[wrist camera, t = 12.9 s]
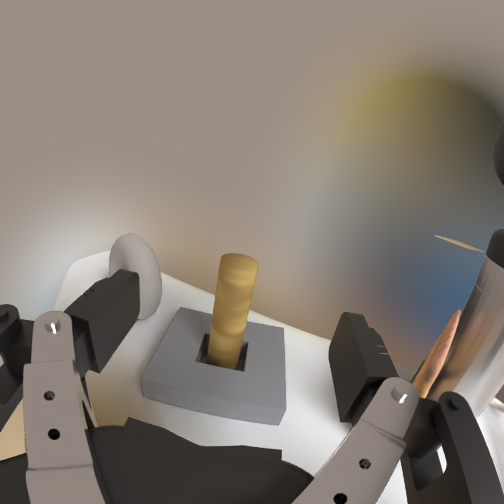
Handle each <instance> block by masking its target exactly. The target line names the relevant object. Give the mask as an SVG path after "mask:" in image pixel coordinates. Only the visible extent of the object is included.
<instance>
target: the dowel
mask: <svg viewBox="0 0 504 504" xmlns="http://www.w3.org/2000/svg"><path fill="white" fill-rule="evenodd" d="M257 268H258V262H257V261H256V260H255V259H253V258H252V257H249V256H246V255H242V254H233V253H231V254H225V255H223V256H222V257H221V261H220V267H219V274H218V281H217V288H216V295H215V302H214V309H213V317H212V324H211V332H210V339H209V347H208V355H207V363H206V364H208V365H213V366H218V367H223V368H227V369H233V370H236V369H237V364H238V359H239V355H240V350H241V345H242V341H243V336H244V331H245V326H246V322H247V317H248V312H249V307H250V302H251V298H252V293H253V288H254V283H255V278H256V274H257Z"/></svg>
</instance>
